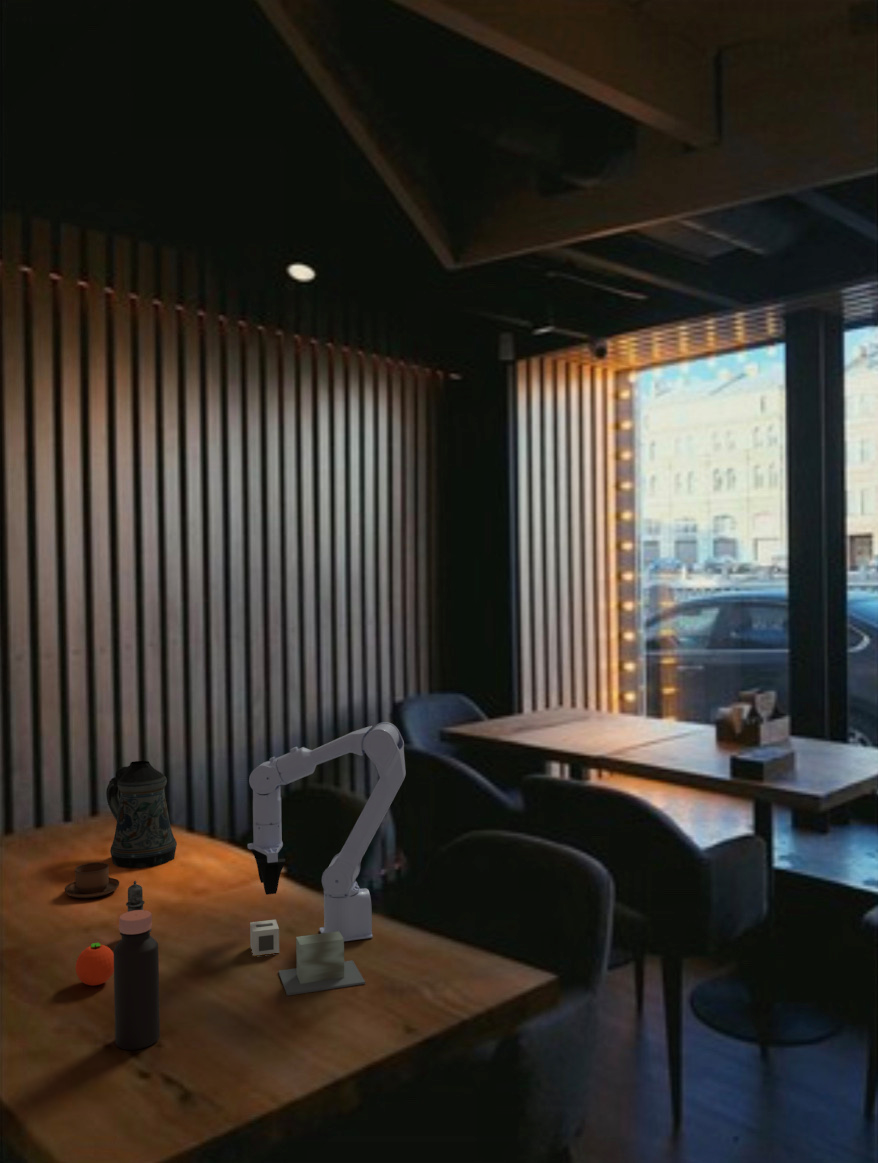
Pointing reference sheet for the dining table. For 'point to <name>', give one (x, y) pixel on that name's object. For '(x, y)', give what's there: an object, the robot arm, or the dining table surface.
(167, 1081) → the dining table surface
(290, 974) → the slate mat
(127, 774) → the beer stein
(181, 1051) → the dining table surface
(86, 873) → the cup and saucer
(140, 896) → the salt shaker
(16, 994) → the dining table surface
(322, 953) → the pale green block
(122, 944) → the bottle
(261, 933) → the marked cube
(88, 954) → the clementine
